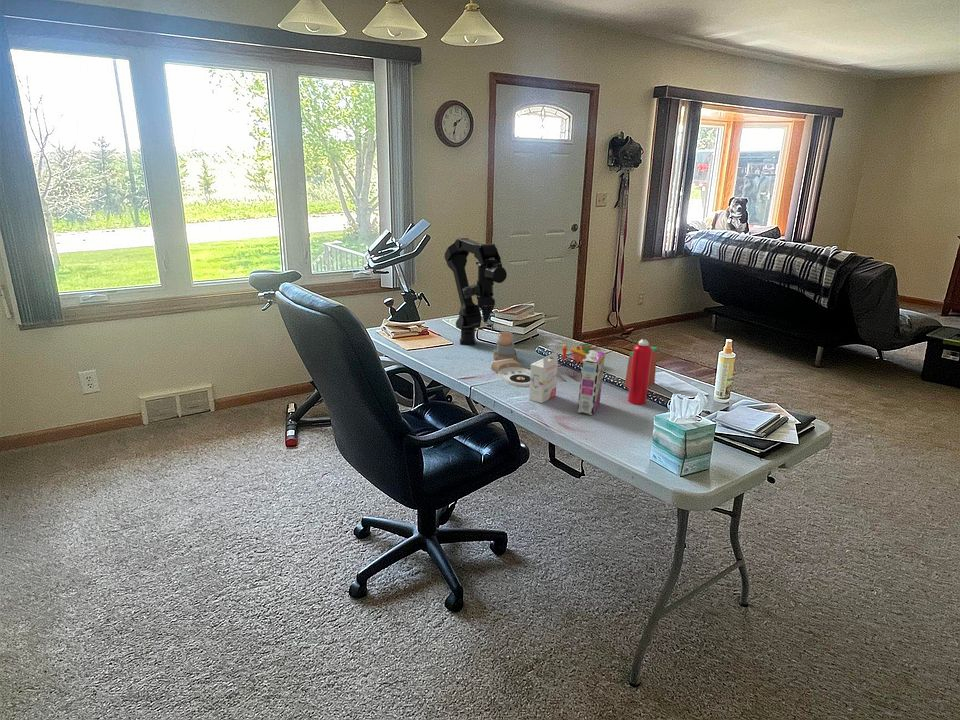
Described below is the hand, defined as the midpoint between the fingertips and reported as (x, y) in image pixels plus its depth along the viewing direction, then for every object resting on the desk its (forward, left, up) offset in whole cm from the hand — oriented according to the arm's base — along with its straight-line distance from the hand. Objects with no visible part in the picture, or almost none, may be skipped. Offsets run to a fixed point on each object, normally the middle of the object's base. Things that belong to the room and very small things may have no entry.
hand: (484, 319), depth 218 cm
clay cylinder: (+10, +7, -7) cm, 14 cm away
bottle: (+49, +45, -13) cm, 68 cm away
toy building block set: (+22, +41, -14) cm, 49 cm away
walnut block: (+10, +7, -14) cm, 19 cm away
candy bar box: (+54, +29, -13) cm, 63 cm away
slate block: (+10, +7, -10) cm, 16 cm away
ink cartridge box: (+46, +16, -13) cm, 50 cm away
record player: (+27, +9, -14) cm, 32 cm away
